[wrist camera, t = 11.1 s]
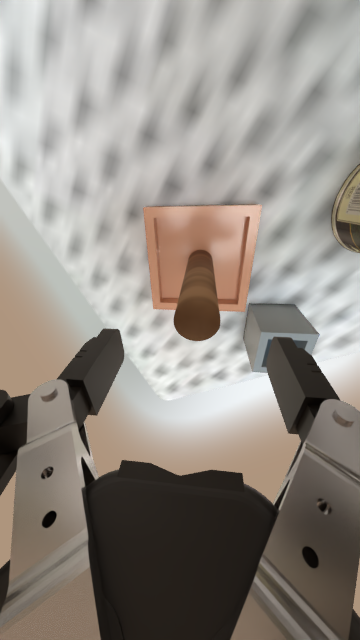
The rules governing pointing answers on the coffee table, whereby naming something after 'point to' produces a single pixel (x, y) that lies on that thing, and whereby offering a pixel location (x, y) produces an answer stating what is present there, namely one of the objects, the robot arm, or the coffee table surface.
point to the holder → (275, 331)
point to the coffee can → (348, 213)
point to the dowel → (198, 299)
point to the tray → (201, 234)
